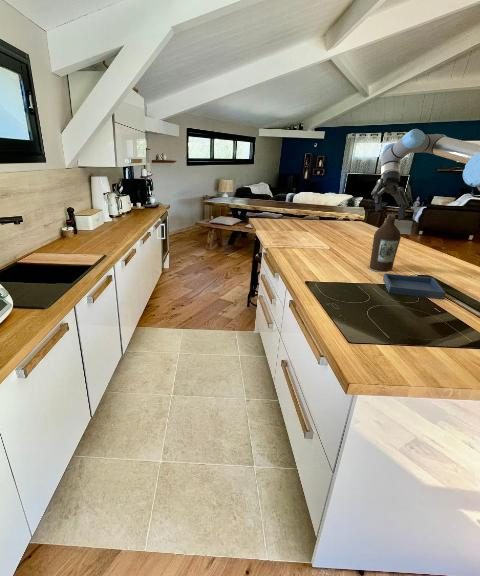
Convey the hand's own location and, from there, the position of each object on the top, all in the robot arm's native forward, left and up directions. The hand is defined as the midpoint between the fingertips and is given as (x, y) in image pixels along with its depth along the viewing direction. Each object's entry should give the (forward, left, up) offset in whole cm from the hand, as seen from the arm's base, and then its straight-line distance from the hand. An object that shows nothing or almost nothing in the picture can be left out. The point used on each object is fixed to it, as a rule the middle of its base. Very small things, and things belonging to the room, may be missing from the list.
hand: (390, 215), depth 142 cm
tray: (-8, +27, -25) cm, 37 cm away
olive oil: (0, +2, -25) cm, 25 cm away
